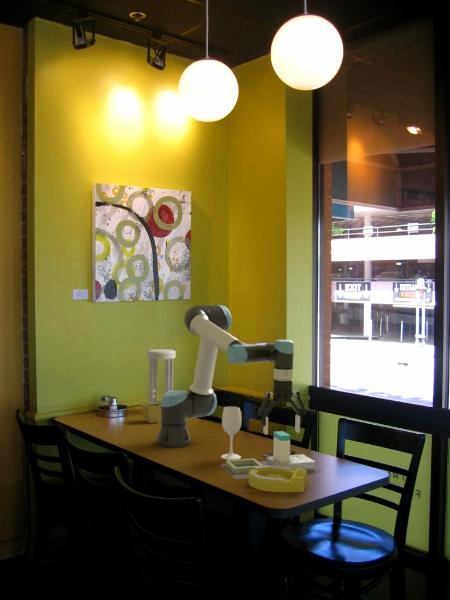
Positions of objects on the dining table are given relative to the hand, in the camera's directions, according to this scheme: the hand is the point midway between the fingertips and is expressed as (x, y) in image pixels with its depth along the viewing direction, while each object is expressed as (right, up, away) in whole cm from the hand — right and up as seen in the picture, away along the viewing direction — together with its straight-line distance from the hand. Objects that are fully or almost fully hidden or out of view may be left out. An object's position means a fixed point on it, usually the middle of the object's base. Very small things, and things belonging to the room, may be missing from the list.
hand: (281, 432), depth 246 cm
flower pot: (-61, -12, +80) cm, 101 cm away
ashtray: (-4, -15, -19) cm, 24 cm away
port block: (+4, -14, +1) cm, 15 cm away
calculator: (0, -15, +18) cm, 23 cm away
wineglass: (-20, -14, +16) cm, 29 cm away
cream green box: (0, -14, 0) cm, 14 cm away
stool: (-59, -11, +105) cm, 121 cm away
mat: (-4, -15, 0) cm, 15 cm away
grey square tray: (-15, -14, 0) cm, 20 cm away
